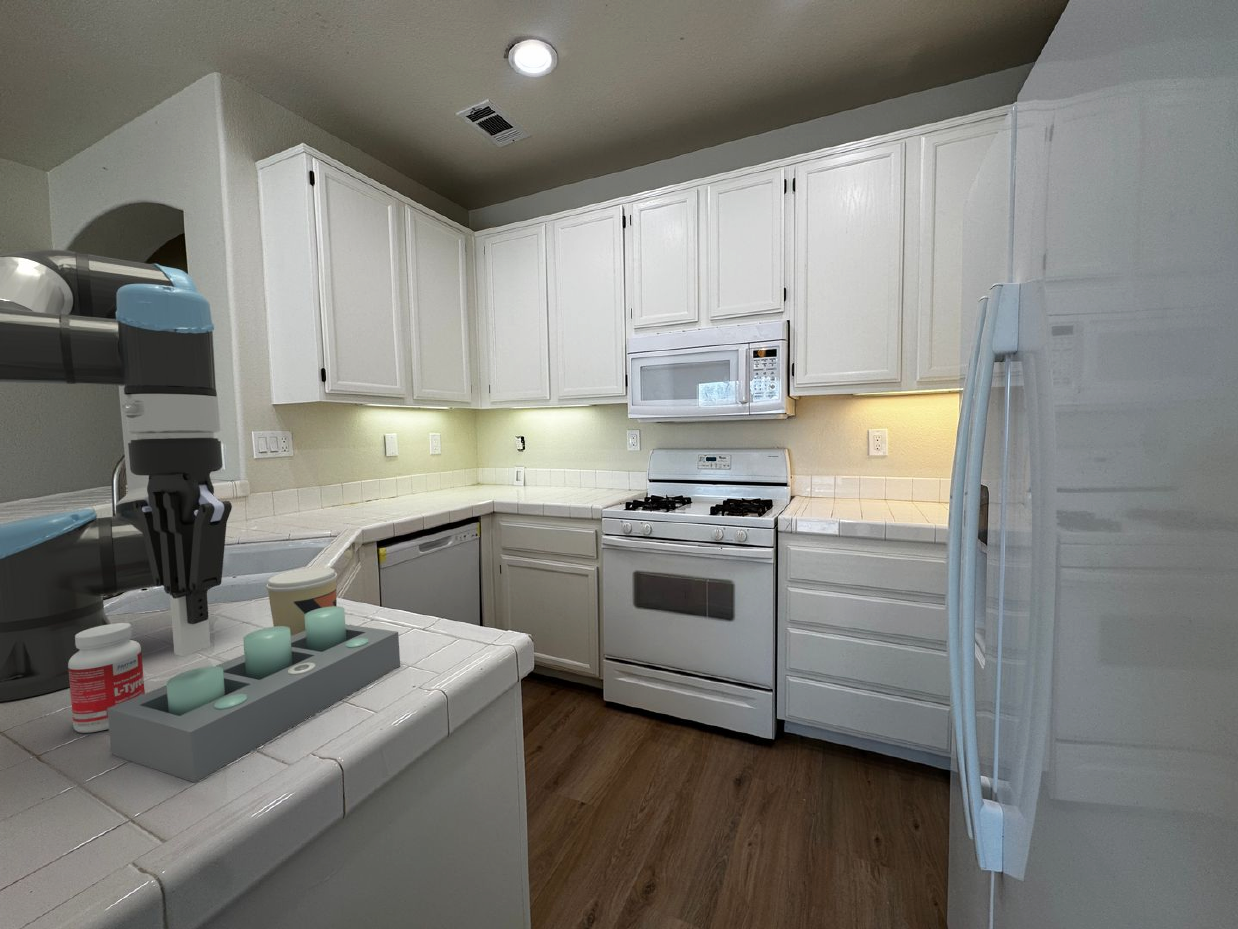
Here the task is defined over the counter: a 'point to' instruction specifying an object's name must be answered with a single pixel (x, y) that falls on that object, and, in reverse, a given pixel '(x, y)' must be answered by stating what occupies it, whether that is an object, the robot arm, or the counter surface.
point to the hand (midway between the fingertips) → (192, 649)
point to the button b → (267, 651)
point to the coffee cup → (300, 595)
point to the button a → (194, 689)
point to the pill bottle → (103, 674)
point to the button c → (325, 628)
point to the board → (248, 705)
